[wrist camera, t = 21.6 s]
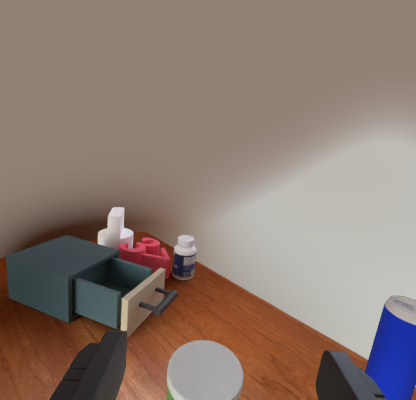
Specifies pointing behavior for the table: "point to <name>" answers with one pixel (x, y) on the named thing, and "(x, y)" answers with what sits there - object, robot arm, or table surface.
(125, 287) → the drawer
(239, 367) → the chip tube
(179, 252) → the pill bottle
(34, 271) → the cabinet
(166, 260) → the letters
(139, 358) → the table surface
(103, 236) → the cylinder with rectangular tab
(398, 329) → the beverage can
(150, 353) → the table surface
